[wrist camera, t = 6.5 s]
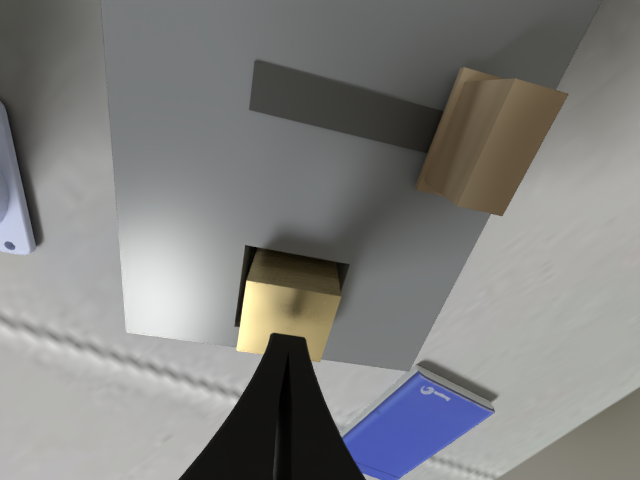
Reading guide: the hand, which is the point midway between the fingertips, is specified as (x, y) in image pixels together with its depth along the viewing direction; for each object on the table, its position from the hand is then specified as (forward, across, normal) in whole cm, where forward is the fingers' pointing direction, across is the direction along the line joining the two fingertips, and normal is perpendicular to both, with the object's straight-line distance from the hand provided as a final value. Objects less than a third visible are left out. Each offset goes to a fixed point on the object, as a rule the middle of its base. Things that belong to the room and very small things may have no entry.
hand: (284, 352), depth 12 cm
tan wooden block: (+3, -5, -9) cm, 11 cm away
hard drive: (+7, -12, +14) cm, 20 cm away
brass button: (+5, 0, 0) cm, 5 cm away
